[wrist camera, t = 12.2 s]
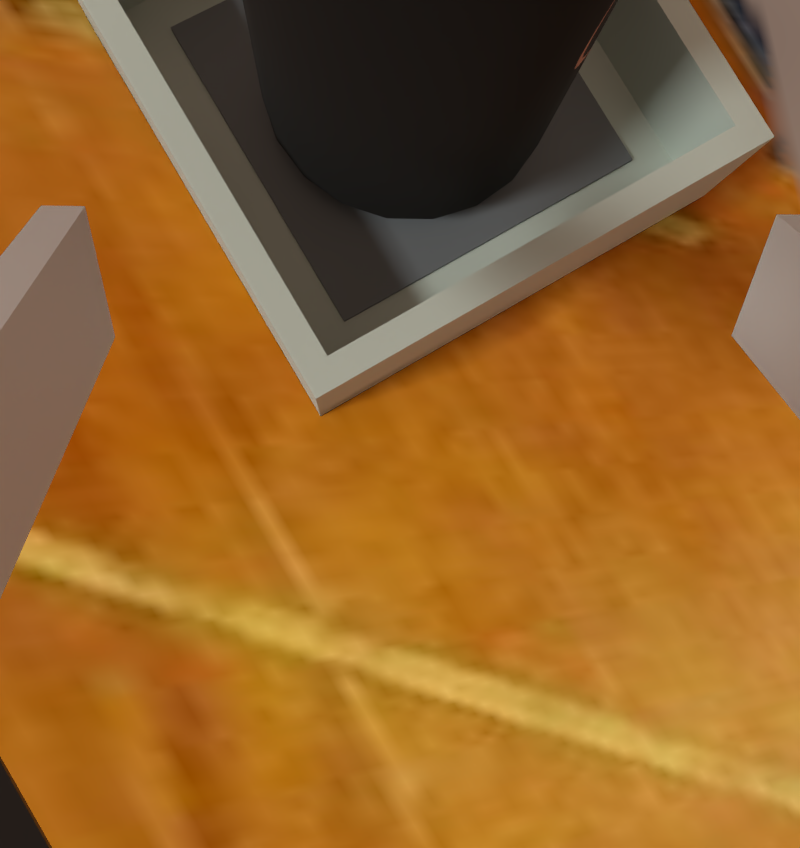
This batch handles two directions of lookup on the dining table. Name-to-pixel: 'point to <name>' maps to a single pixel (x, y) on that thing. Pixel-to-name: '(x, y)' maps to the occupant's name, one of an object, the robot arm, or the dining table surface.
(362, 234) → the tray
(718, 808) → the dining table surface
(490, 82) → the coffee jar
